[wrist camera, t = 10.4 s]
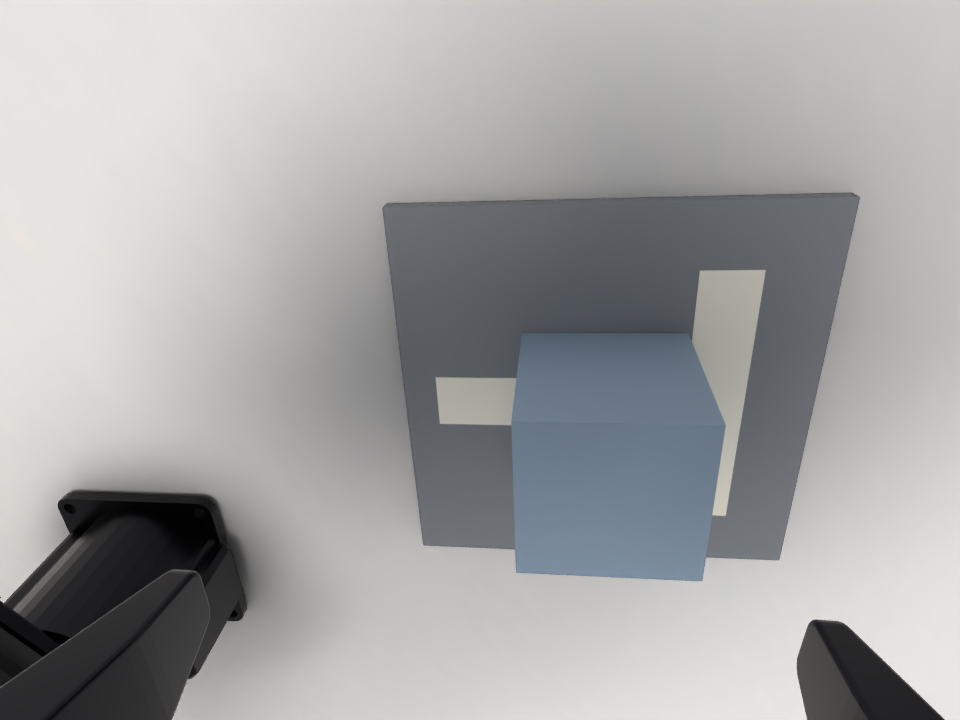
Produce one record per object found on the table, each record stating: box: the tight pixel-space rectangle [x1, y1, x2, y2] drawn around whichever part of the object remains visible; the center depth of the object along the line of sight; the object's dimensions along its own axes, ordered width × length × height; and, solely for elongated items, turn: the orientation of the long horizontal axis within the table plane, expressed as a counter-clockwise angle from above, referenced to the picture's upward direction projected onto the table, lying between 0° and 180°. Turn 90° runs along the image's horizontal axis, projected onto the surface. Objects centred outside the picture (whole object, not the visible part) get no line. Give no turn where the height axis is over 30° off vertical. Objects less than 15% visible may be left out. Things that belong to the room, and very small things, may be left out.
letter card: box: [383, 193, 860, 560], centre depth 21 cm, size 13×13×1 cm
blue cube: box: [511, 333, 726, 581], centre depth 19 cm, size 5×5×5 cm
